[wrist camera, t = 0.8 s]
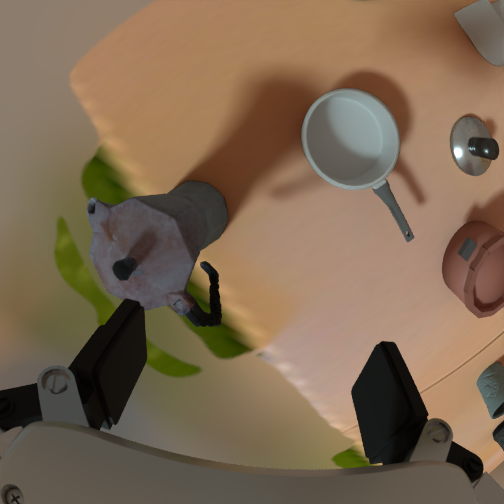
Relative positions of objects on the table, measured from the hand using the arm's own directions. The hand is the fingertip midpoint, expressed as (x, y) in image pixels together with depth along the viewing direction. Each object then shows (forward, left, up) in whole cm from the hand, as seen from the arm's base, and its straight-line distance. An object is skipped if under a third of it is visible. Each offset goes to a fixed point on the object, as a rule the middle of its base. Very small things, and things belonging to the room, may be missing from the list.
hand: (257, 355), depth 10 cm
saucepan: (-10, +8, -28) cm, 31 cm away
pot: (-10, +34, -28) cm, 45 cm away
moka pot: (+6, -7, -28) cm, 29 cm away
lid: (-24, +22, -28) cm, 43 cm away
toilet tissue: (-45, +17, -28) cm, 56 cm away
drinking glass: (+7, +71, -28) cm, 77 cm away
